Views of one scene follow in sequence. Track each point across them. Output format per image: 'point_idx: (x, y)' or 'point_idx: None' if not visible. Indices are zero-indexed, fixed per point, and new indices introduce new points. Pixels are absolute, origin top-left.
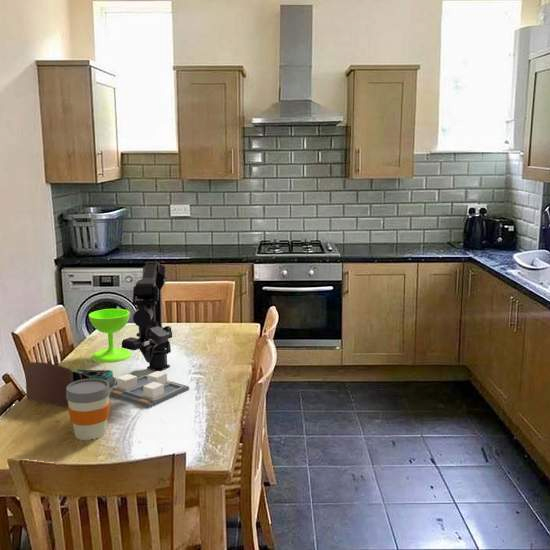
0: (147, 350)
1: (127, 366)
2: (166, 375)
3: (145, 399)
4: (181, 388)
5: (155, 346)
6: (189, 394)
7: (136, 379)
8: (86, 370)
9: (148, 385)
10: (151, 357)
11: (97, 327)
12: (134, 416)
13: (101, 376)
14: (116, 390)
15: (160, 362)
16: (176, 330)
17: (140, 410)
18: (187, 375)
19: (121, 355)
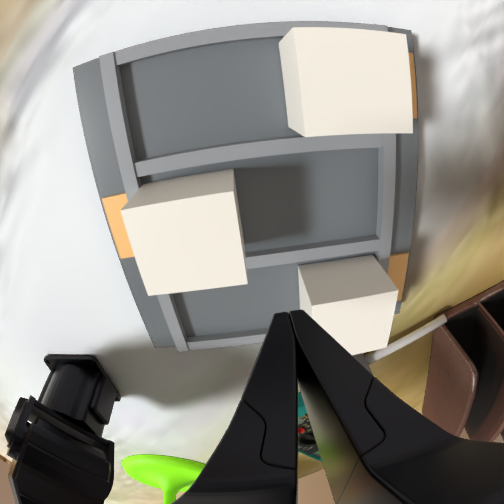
0: (425, 433)
1: (170, 433)
2: (129, 203)
3: None
4: (130, 48)
5: (202, 499)
6: (124, 8)
7: (313, 293)
8: (306, 453)
9: (386, 108)
10: (271, 347)
11: None
12: (481, 40)
13: None
14: None
15: (73, 384)
16: None
17: (441, 54)
18: (10, 244)
19: (155, 467)
